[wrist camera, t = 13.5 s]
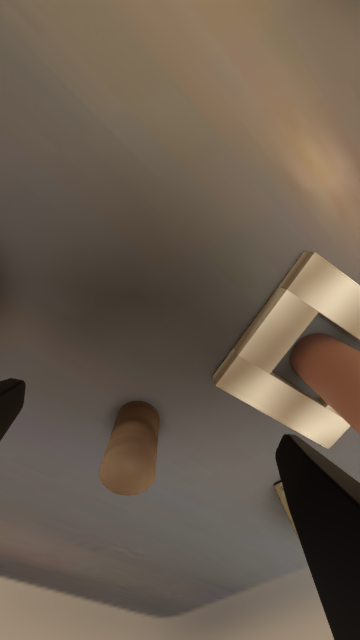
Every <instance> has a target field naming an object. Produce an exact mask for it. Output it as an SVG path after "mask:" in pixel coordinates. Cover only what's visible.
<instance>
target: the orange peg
mask: <svg viewBox="0 0 360 640" xmlns="http://www.w3.org/2000/svg"><path fill="white" fill-rule="evenodd" d="M290 364H291V367H292V369H293V371H294V372H295V373H296V374H297V375H298V376H299V377H300V378H301V379H302V380H303V381H304V382H306V383H307V384H308V385H309V386H310V387H311V388H312V389H313V390H314V391H315V392H316V393H317V394H318V395H319V396H320V397H321V398H322V399H323V400H324V401H325V402H326V403H327V404H328V405H329V406H331V407H332V408H333V409H334V410H335V411H336V412H337V413H338V414H339V415H340V416H341V417H342V418H343V419H344V420H345V421H346V422H347V423H348V424H349V425H350V426H351V427H352V428H353V429H354V430H356V431H357V432H358V433H359V434H360V352H359V351H358V350H356V349H354V348H352V347H350V346H348V345H346V344H344V343H342V342H340V341H339V340H337V339H335V338H333V337H331V336H329V335H327V334H324V333H313V334H309V335H307V336H305V337H303V338H302V339H300V340H299V341H298V342H297V343H296V344H295V346H294V347H293V349H292V352H291V355H290Z"/></svg>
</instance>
